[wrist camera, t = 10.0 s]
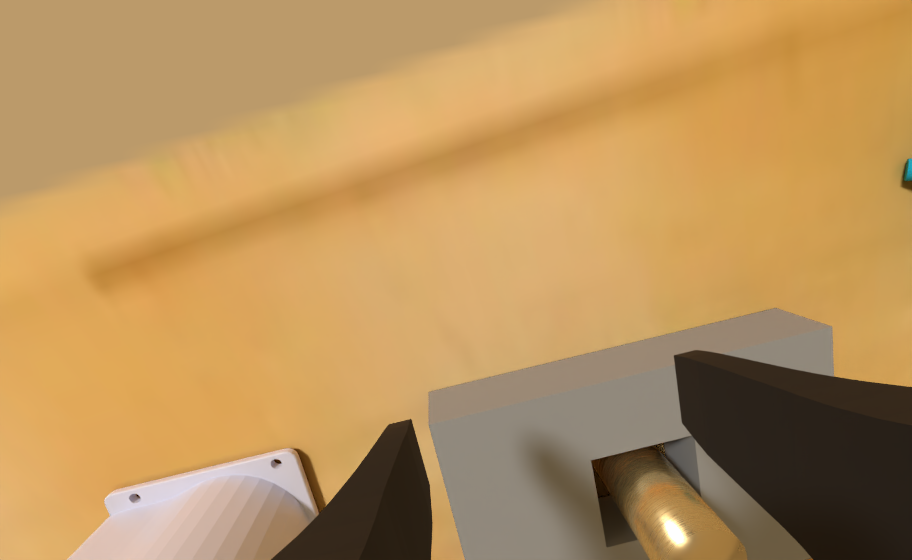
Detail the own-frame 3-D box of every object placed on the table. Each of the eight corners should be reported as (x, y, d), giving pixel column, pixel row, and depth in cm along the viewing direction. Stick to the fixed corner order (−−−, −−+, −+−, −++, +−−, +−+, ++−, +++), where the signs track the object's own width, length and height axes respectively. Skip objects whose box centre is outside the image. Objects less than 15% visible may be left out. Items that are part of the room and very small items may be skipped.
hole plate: (479, 584, 23) (486, 640, 20) (428, 392, 21) (428, 424, 18) (788, 506, 24) (839, 551, 21) (776, 308, 21) (832, 326, 18)
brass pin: (595, 484, 23) (668, 612, 16) (586, 433, 22) (658, 542, 15) (652, 470, 23) (750, 591, 16) (645, 418, 22) (743, 521, 15)
